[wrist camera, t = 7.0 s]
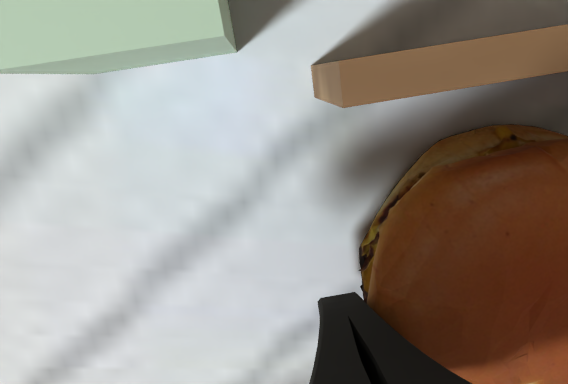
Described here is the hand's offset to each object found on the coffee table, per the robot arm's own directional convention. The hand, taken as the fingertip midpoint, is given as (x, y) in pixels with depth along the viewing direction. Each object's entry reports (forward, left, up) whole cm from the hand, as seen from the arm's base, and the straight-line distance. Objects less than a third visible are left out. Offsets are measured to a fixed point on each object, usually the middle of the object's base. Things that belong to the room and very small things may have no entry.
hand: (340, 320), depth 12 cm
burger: (0, -6, -3) cm, 6 cm away
